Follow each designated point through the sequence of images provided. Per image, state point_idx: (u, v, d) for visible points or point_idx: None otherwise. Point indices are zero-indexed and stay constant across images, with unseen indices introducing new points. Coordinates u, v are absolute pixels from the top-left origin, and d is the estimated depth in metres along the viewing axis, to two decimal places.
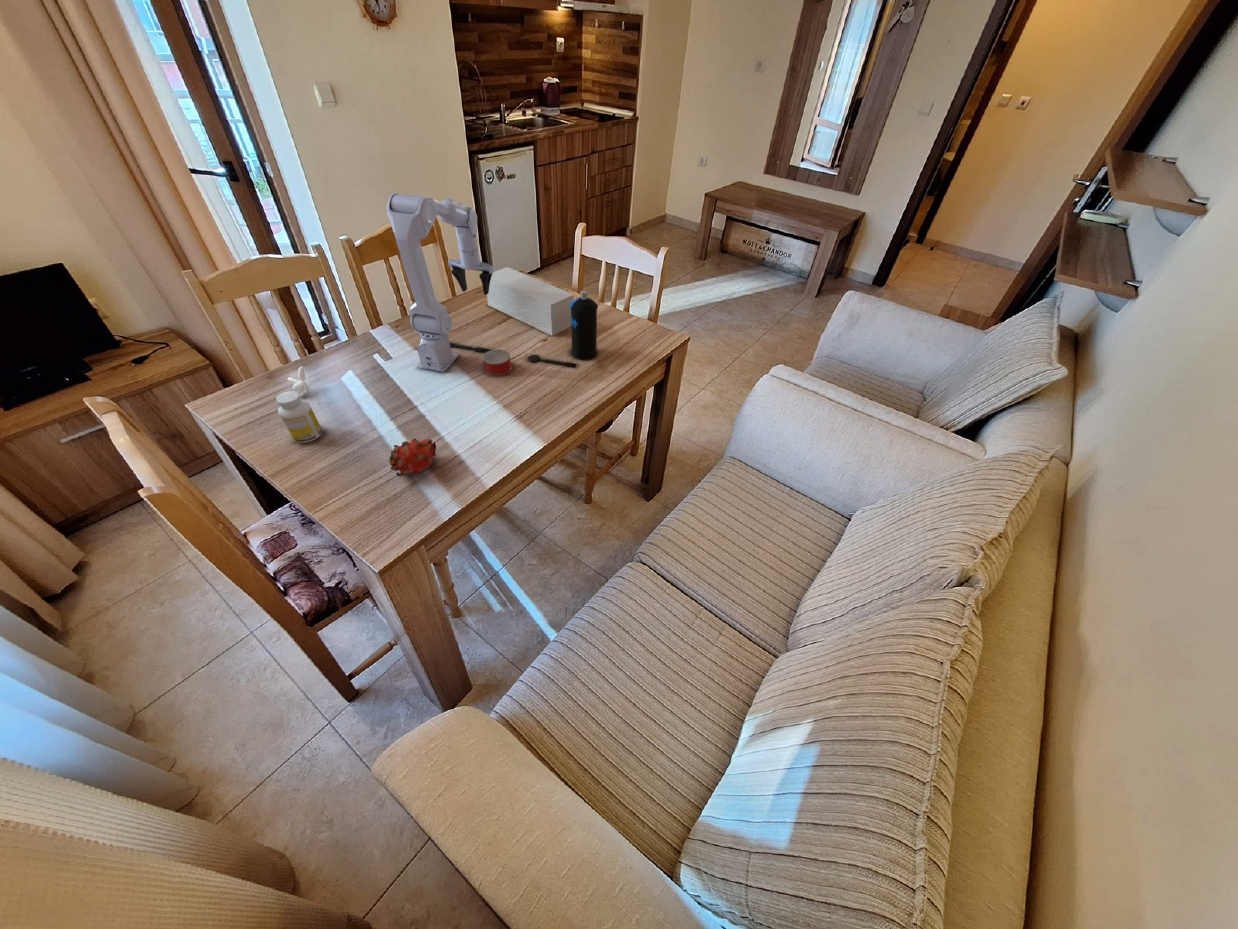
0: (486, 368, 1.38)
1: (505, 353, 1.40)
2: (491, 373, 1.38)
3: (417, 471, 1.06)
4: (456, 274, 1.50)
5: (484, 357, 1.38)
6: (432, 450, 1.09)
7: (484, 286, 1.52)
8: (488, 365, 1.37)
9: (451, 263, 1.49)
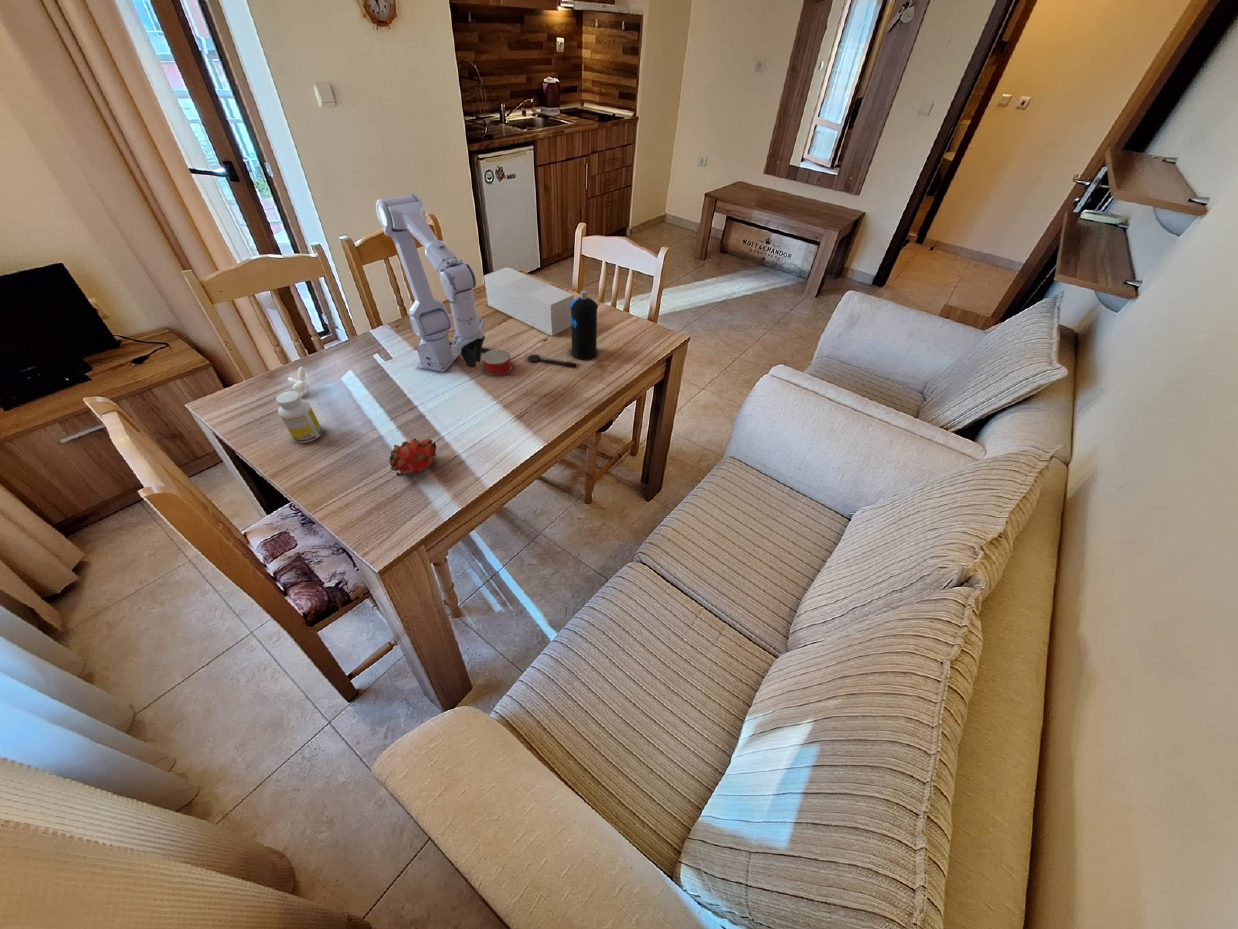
0: (486, 368, 1.38)
1: (505, 353, 1.40)
2: (491, 373, 1.38)
3: (417, 471, 1.06)
4: None
5: (484, 357, 1.38)
6: (432, 450, 1.09)
7: None
8: (488, 365, 1.37)
9: None
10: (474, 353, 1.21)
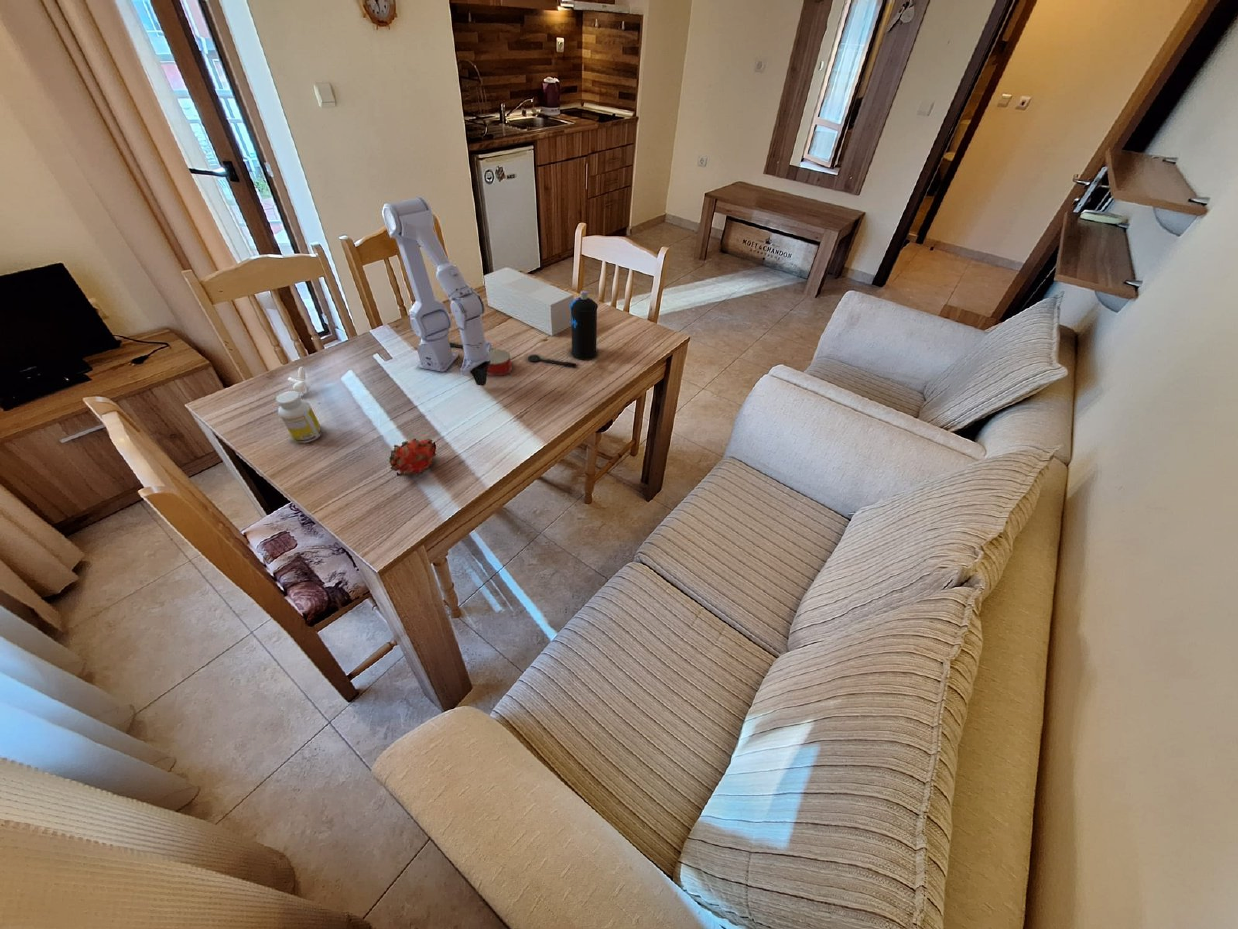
0: None
1: (505, 353, 1.40)
2: (491, 373, 1.38)
3: (417, 471, 1.06)
4: None
5: None
6: (432, 450, 1.09)
7: None
8: None
9: None
10: (484, 372, 1.28)
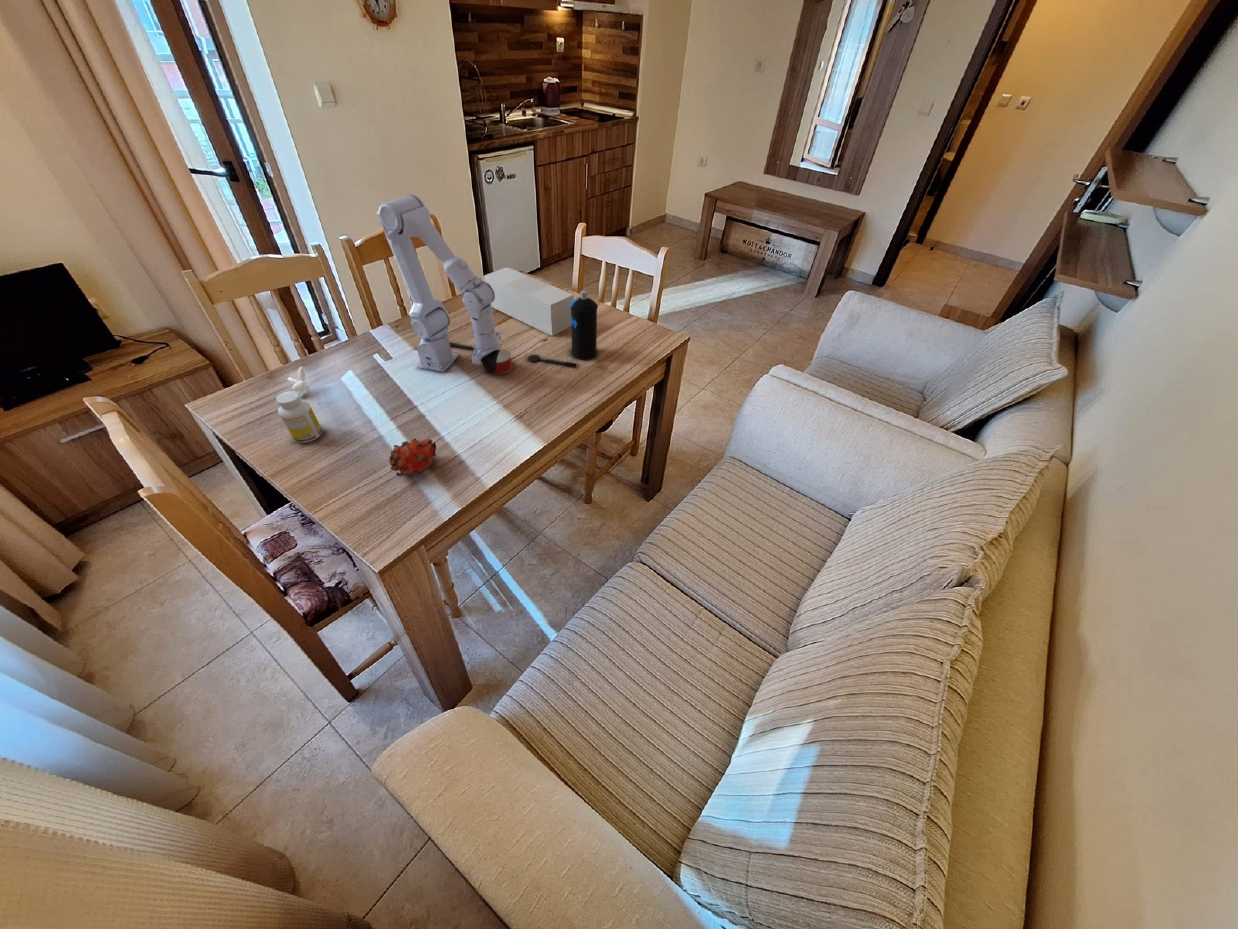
0: None
1: (506, 352, 1.40)
2: None
3: (417, 471, 1.06)
4: None
5: None
6: (432, 450, 1.09)
7: None
8: None
9: None
10: (493, 361, 1.33)
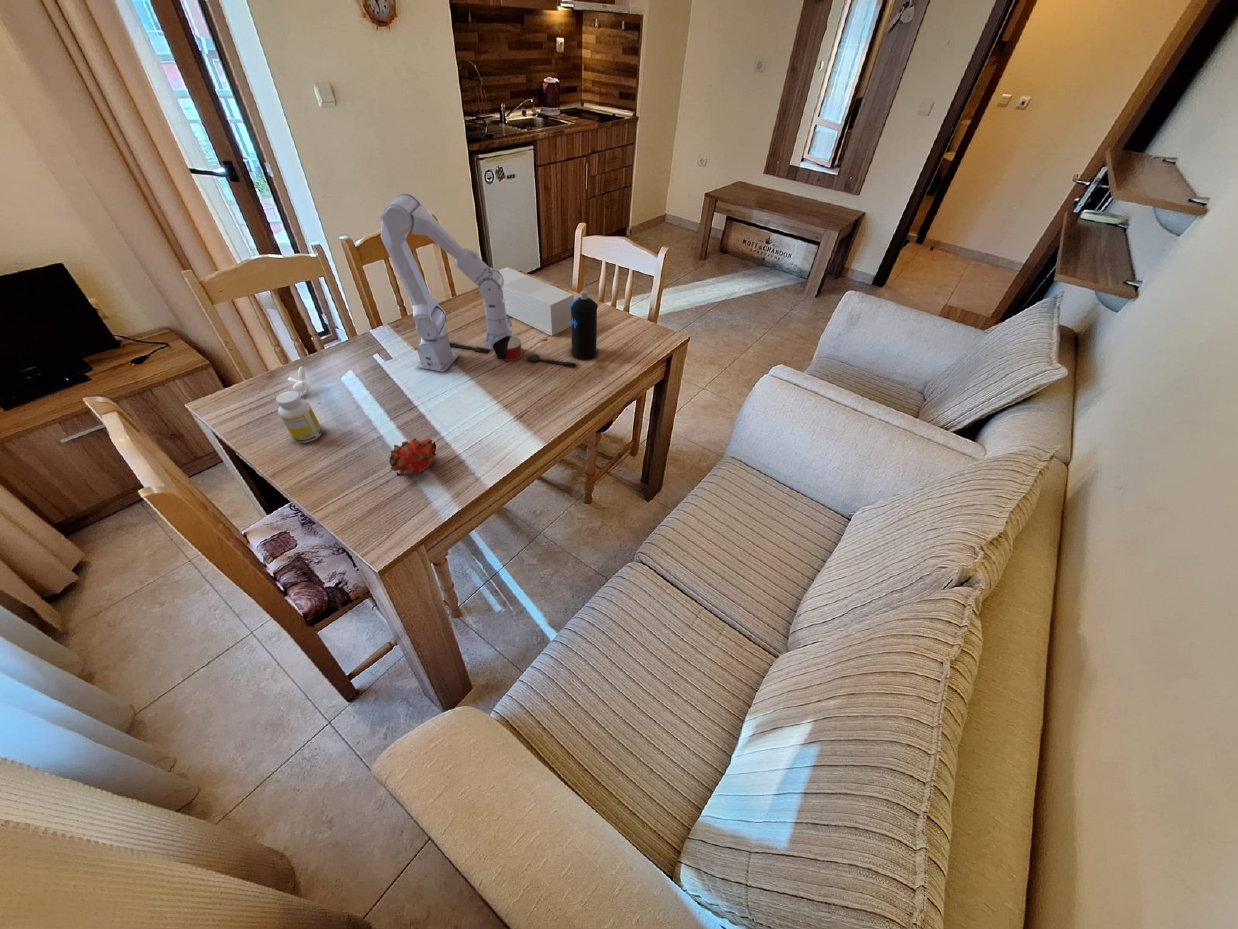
0: None
1: (516, 339, 1.46)
2: None
3: (417, 471, 1.06)
4: None
5: None
6: (432, 450, 1.09)
7: None
8: None
9: None
10: (505, 347, 1.39)
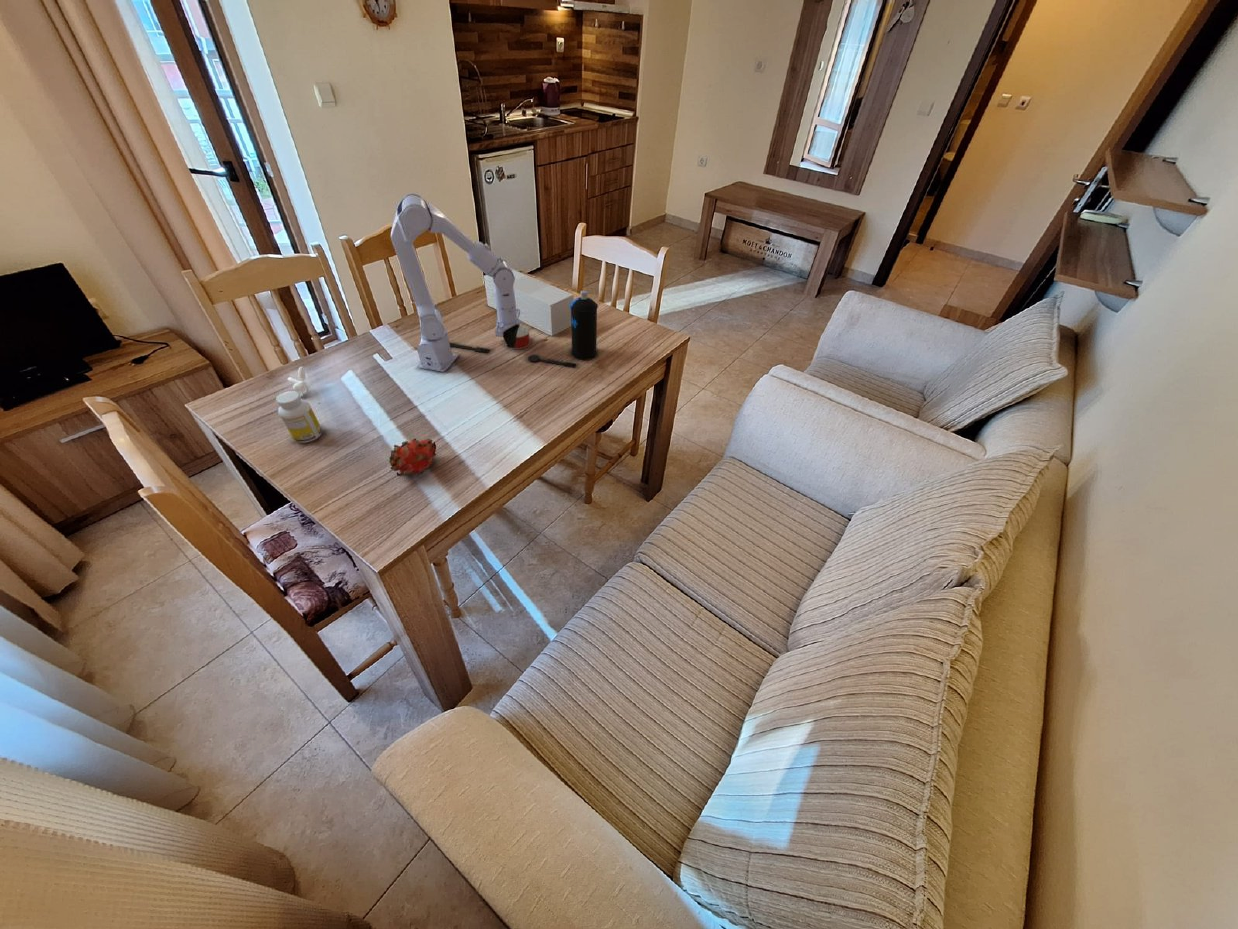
0: None
1: (524, 329, 1.51)
2: None
3: (417, 471, 1.06)
4: None
5: None
6: (432, 450, 1.09)
7: None
8: None
9: None
10: (514, 335, 1.44)
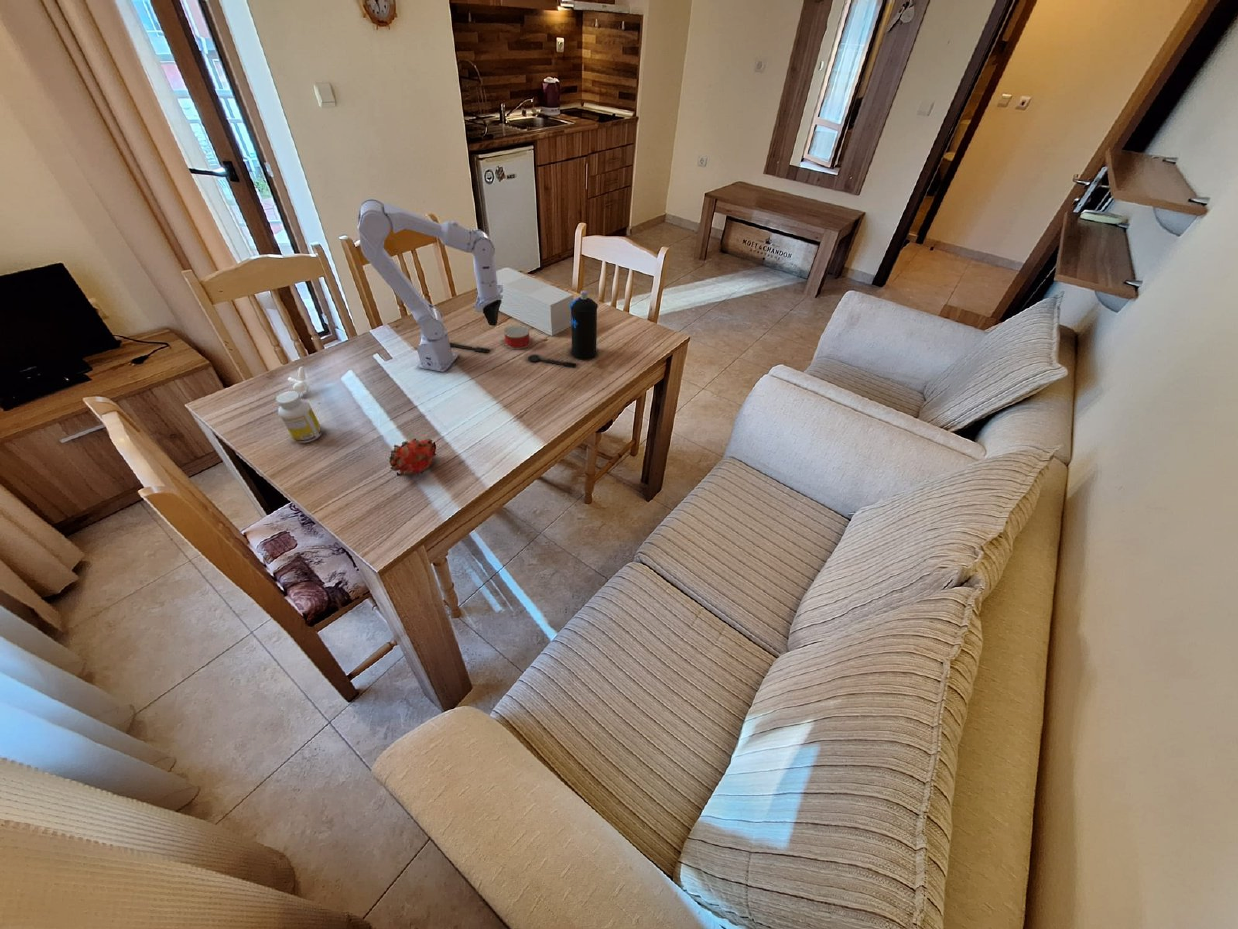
0: (507, 342, 1.50)
1: (524, 329, 1.51)
2: (512, 346, 1.50)
3: (417, 471, 1.06)
4: None
5: (505, 332, 1.49)
6: (432, 450, 1.09)
7: None
8: (509, 339, 1.48)
9: None
10: (495, 312, 1.37)
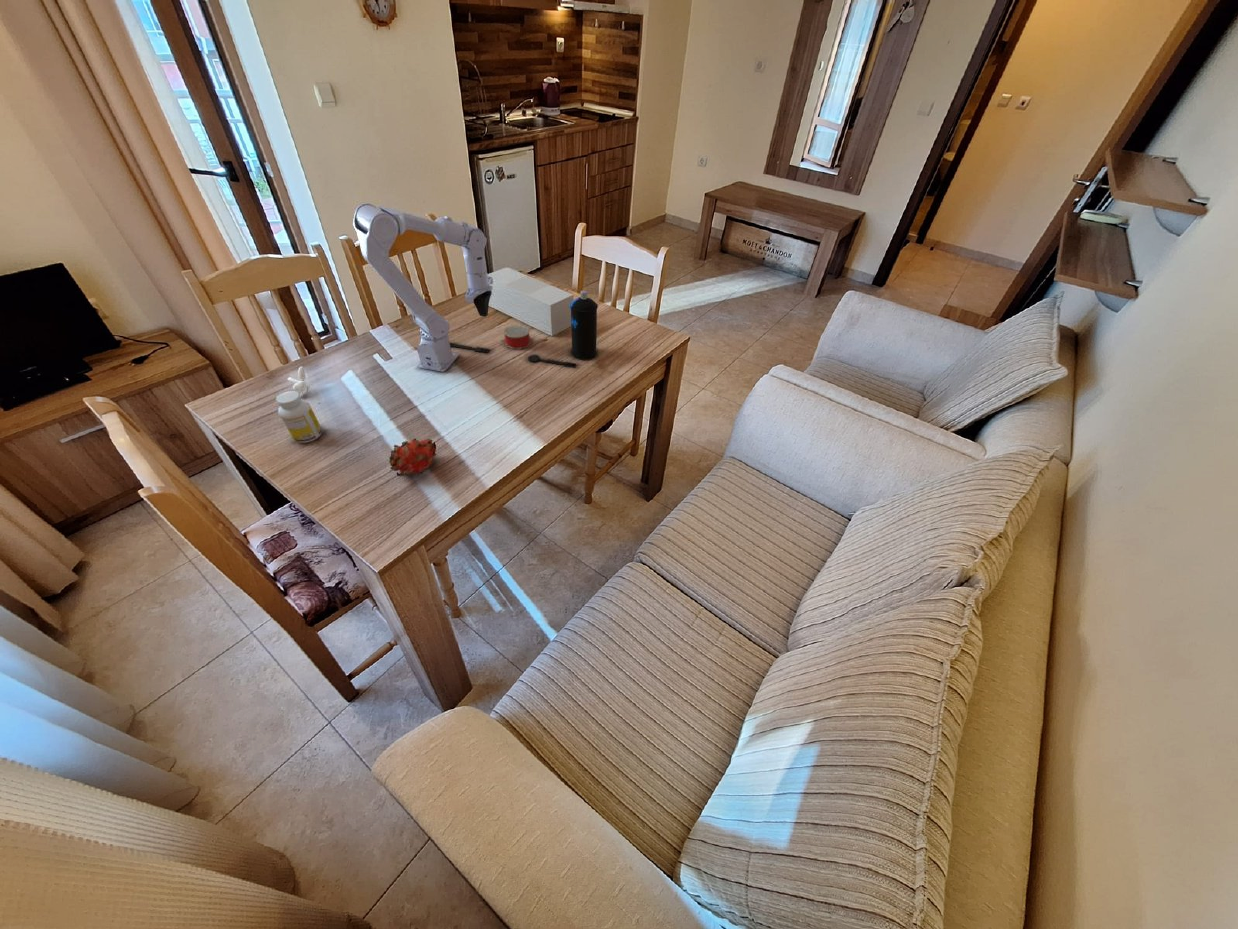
0: (507, 342, 1.50)
1: (524, 329, 1.51)
2: (512, 346, 1.50)
3: (417, 471, 1.06)
4: None
5: (505, 332, 1.49)
6: (432, 450, 1.09)
7: None
8: (509, 339, 1.48)
9: None
10: (486, 302, 1.41)
